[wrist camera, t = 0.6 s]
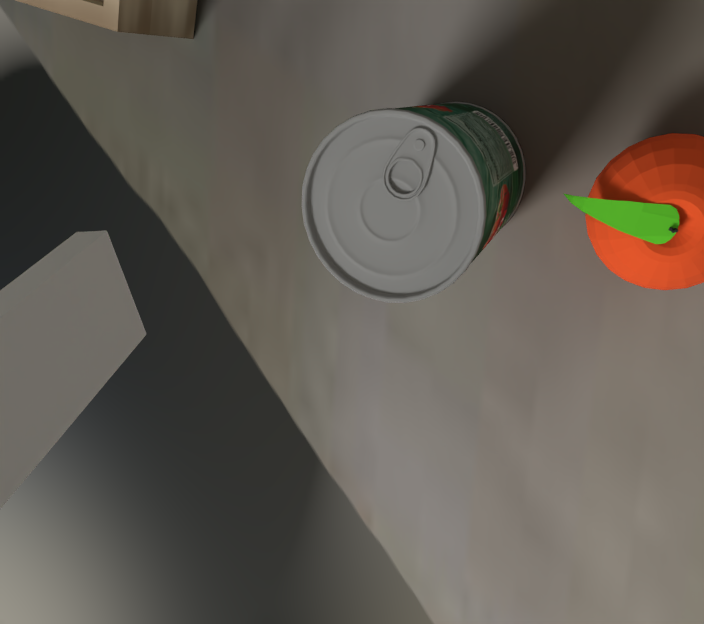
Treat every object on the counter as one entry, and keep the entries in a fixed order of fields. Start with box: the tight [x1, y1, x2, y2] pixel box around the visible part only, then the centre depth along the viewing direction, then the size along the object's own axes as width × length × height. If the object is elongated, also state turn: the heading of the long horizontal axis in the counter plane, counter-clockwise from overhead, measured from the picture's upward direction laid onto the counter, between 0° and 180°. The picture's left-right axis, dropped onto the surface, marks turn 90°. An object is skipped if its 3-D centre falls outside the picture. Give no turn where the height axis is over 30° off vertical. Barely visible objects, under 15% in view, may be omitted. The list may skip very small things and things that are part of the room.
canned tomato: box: [302, 102, 525, 303], centre depth 30 cm, size 8×8×11 cm
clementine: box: [564, 133, 704, 290], centre depth 28 cm, size 8×7×7 cm
